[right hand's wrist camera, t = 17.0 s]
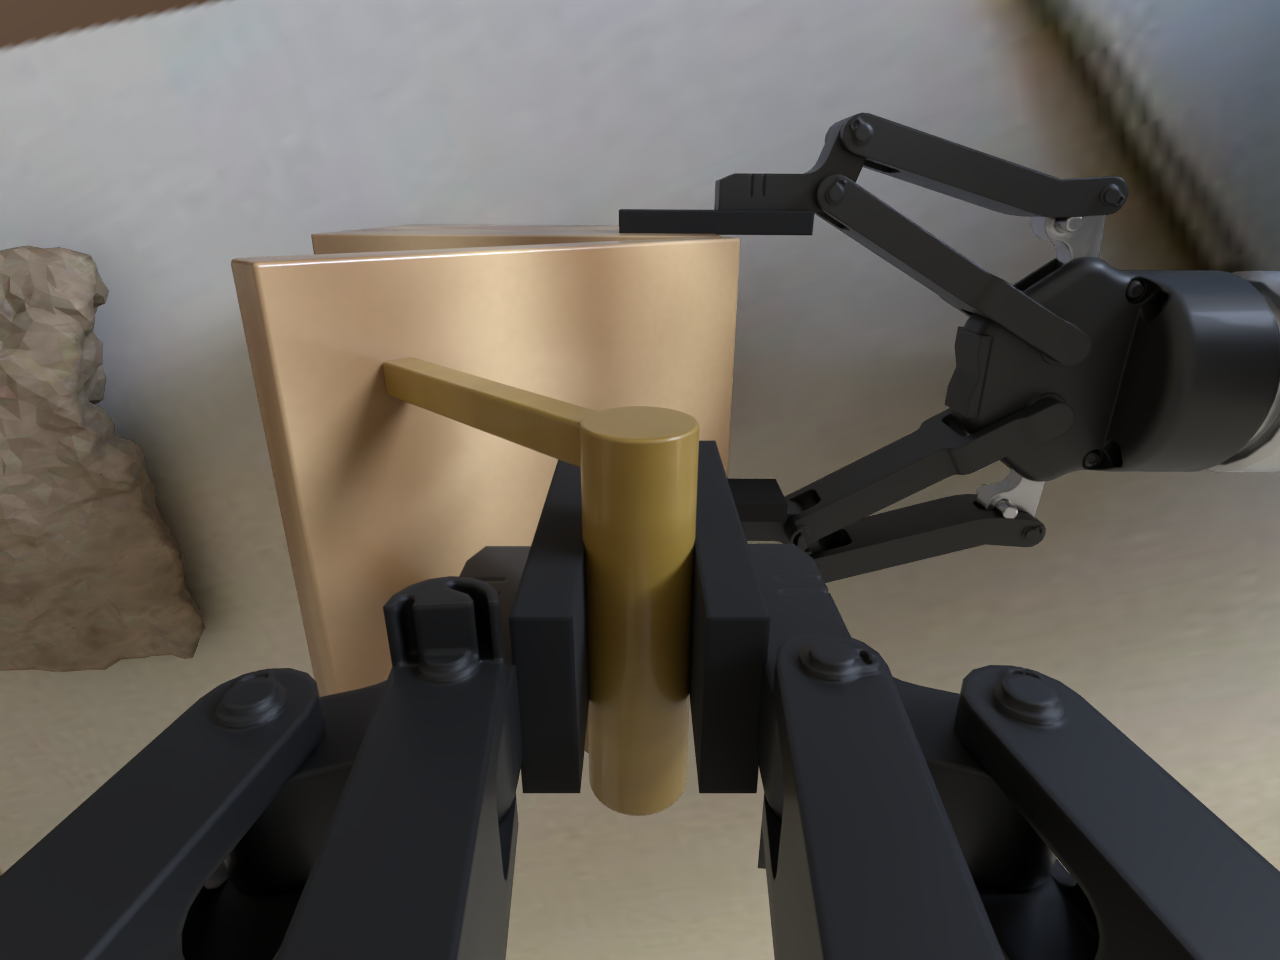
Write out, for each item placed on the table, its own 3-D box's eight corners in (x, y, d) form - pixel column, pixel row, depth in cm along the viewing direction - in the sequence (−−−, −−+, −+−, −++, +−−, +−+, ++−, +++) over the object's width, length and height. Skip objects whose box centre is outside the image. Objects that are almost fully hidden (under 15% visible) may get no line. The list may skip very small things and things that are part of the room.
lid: (319, 707, 16) (566, 986, 10) (227, 258, 13) (530, 307, 7) (698, 527, 25) (941, 624, 20) (709, 236, 22) (1013, 250, 16)
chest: (432, 438, 35) (356, 524, 25) (408, 224, 31) (310, 234, 22) (690, 438, 35) (710, 525, 25) (697, 226, 31) (723, 236, 22)
